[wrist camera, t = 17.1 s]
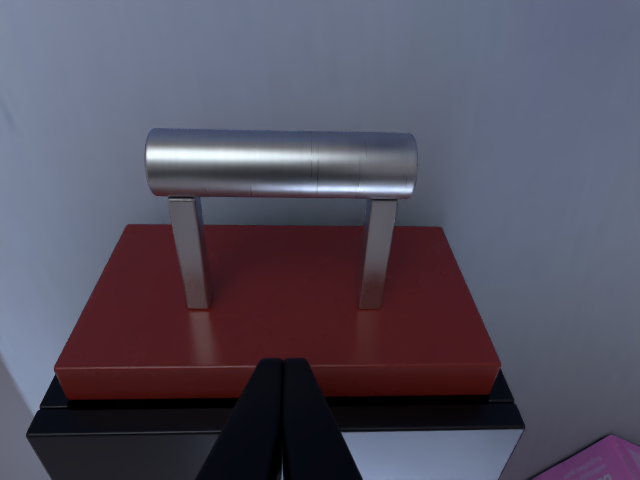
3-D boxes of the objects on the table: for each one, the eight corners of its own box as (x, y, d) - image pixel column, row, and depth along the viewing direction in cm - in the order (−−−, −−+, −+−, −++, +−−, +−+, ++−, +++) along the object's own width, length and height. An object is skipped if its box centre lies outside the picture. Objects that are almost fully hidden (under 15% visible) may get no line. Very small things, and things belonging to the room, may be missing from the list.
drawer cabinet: (122, 237, 16) (23, 436, 10) (446, 239, 17) (527, 427, 11) (177, 447, 24) (138, 628, 18) (396, 443, 25) (427, 616, 19)
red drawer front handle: (88, 72, 12) (-38, 181, 8) (475, 82, 13) (577, 189, 8) (180, 439, 22) (150, 580, 18) (392, 435, 23) (417, 571, 18)
